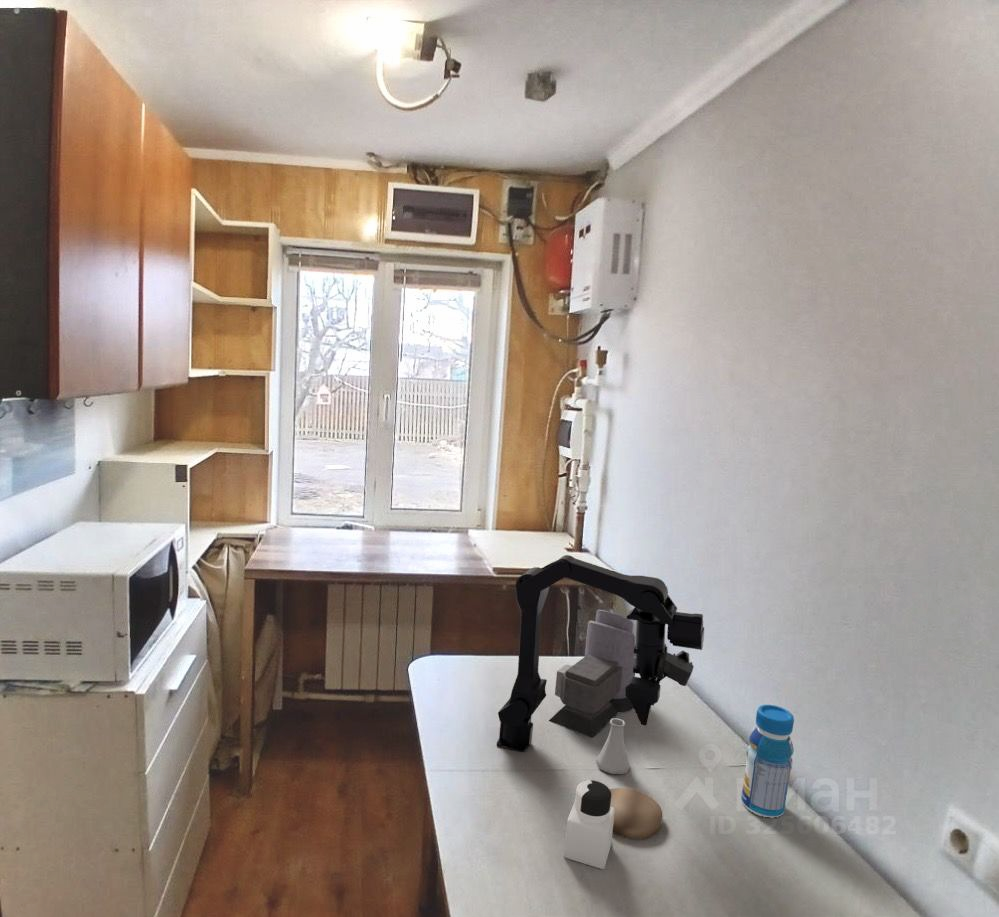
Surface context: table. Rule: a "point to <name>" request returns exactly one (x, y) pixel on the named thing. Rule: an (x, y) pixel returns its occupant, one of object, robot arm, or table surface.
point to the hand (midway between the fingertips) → (647, 714)
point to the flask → (614, 750)
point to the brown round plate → (635, 814)
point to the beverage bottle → (768, 762)
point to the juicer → (597, 676)
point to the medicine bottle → (590, 825)
